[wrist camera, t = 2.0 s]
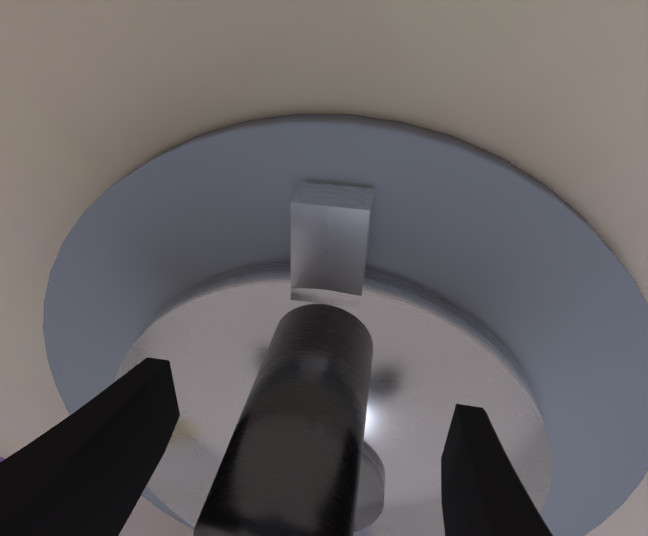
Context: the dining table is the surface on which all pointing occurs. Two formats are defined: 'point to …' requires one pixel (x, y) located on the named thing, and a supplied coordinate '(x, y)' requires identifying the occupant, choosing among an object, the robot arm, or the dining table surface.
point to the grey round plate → (383, 256)
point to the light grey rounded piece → (327, 390)
